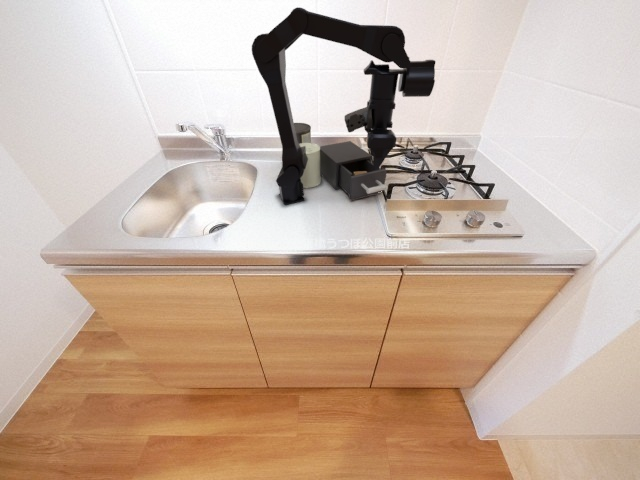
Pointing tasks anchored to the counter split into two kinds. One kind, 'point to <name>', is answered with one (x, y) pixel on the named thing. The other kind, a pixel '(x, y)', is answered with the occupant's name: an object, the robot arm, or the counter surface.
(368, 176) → the dark grey drawer
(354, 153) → the dark grey drawer box
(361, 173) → the block
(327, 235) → the counter surface
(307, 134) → the coffee can
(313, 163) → the can
